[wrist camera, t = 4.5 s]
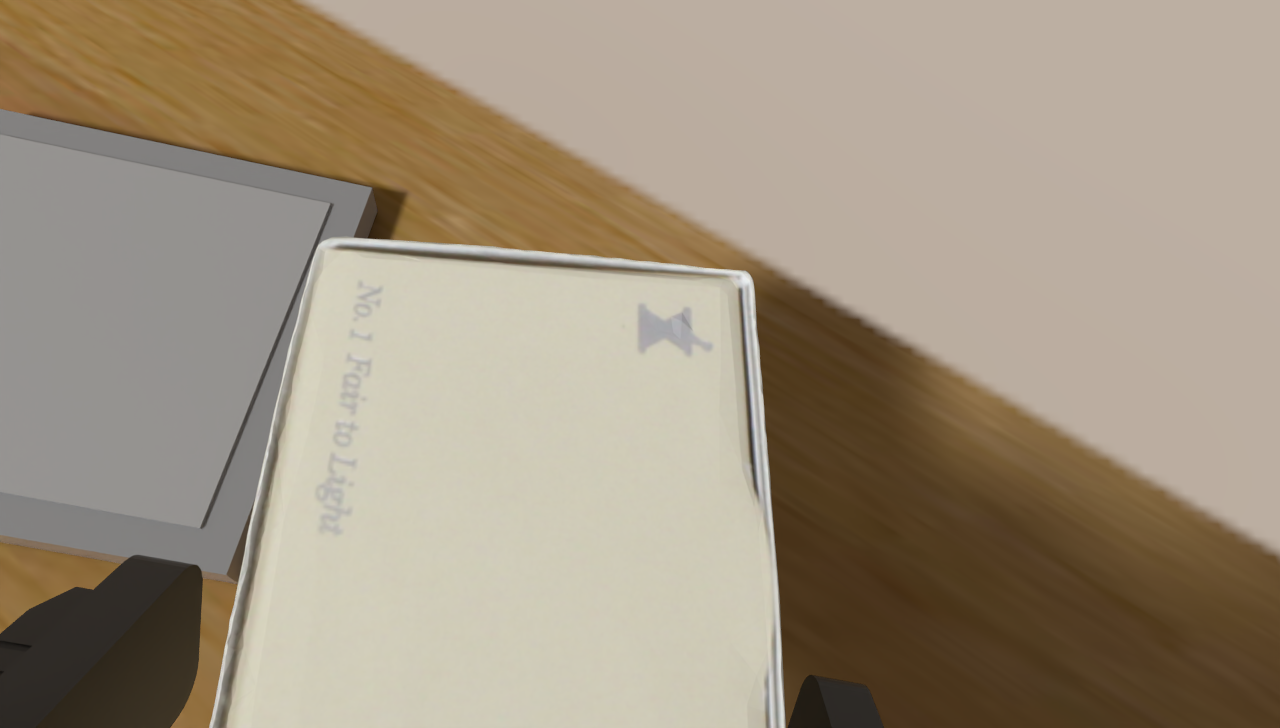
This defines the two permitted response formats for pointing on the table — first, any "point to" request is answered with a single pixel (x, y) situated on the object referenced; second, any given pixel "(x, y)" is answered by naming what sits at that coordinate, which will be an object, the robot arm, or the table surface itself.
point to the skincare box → (511, 500)
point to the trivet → (146, 336)
